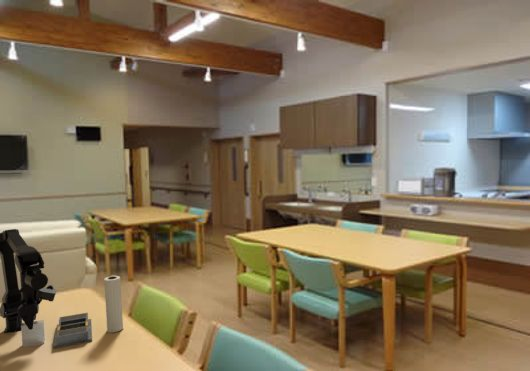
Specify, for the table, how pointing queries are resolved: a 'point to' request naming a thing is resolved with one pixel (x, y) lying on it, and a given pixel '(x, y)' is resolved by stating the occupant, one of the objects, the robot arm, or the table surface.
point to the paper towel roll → (113, 303)
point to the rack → (73, 330)
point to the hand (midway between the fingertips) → (32, 324)
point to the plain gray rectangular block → (33, 334)
